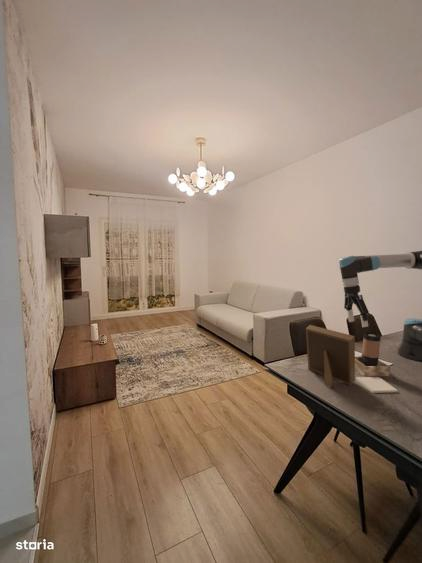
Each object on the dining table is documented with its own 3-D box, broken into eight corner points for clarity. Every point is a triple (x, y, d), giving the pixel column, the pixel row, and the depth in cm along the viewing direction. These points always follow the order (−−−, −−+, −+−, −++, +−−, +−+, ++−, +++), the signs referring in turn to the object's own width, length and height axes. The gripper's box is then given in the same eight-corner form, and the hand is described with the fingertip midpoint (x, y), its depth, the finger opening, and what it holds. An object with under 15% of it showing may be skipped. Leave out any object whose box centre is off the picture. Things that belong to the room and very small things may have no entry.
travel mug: (379, 374, 133) (383, 337, 130) (363, 372, 135) (367, 336, 132) (373, 367, 140) (377, 332, 138) (358, 366, 142) (361, 331, 139)
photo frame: (312, 366, 141) (315, 322, 137) (354, 382, 125) (359, 333, 121) (297, 375, 131) (300, 328, 128) (341, 394, 115) (346, 341, 111)
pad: (378, 378, 129) (378, 376, 128) (397, 392, 117) (397, 390, 117) (355, 379, 128) (355, 377, 128) (372, 392, 116) (372, 390, 116)
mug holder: (371, 364, 144) (372, 356, 144) (389, 376, 132) (390, 366, 131) (349, 364, 144) (350, 356, 143) (364, 376, 131) (365, 367, 130)
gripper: (333, 285, 150) (340, 320, 151) (356, 288, 125) (364, 330, 126) (346, 283, 150) (353, 318, 150) (372, 285, 125) (379, 327, 125)
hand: (358, 324), depth 138 cm, fingers open, 13 cm apart
